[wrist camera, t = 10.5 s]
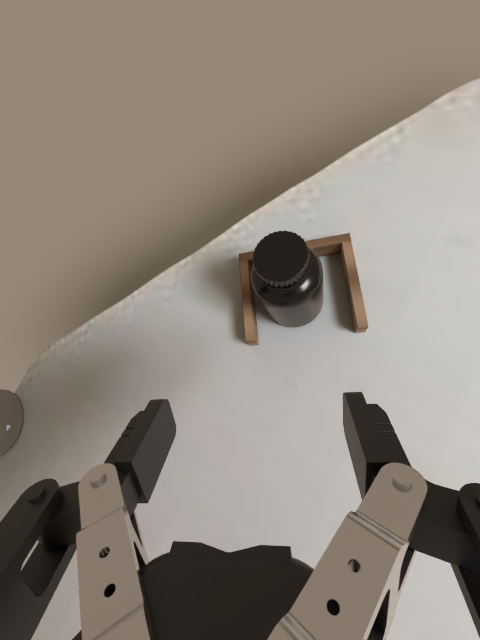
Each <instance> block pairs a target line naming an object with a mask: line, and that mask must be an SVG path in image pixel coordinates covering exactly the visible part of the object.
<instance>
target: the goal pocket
mask: <svg viewBox="0 0 480 640" xmlns="http://www.w3.org/2000/svg"><path fill="white" fill-rule="evenodd" d="M305 243H306V244H307V246H308V247H310V248H311V249H312V250H313V251H314V252H315V253H316V254H317V256H318V257H320V256H326V255H331V254H337V253H340V254H341V259H342V264H343V270H344V275H345V281H346V286H347V291H348V297H349V302H350V307H351V313H352V318H353V324H354V329H355V333H359V332H365V331H366V329H367V328H368V323H367V318H366V313H365V308H364V303H363V298H362V293H361V288H360V283H359V278H358V273H357V268H356V263H355V258H354V253H353V248H352V243H351V238H350V233H347V234H342V235H337V236H331V237H326V238H321V239H316V240H310V241H305ZM253 253H254V251H253V252H248V253H242V254H239V263H240V276H241V289H242V301H243V314H244V327H245V340H246V342H247V343H248V344H249V345H250V346H251V345H259V344H258V333H257V322H256V311H255V300H254V289H253V286H252V282H251V271H252V267H253V259H252V258H253Z"/></svg>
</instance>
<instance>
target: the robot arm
mask: <svg viewBox="0 0 480 640" xmlns="http://www.w3.org/2000/svg"><path fill="white" fill-rule="evenodd" d="M22 420H23V410H22V406H21V403H20V401H19V398H18V397H17V396H16V395H15V394H14V393H12V392H11V391H8V390H0V456H1V455H3V454H4V453H6V452H7V451H8V450H9V449H10V448H11V447H12V445H13V444H14V442H15V441H16V439H17V437H18V435H19V433H20V430H21V426H22ZM343 425H344V432H345V437H346V440H347V444H348V448H349V452H350V456H351V459H352V463H353V467H354V471H355V475H356V478H357V482H358V486H359V490H360V494H361V497H362V502H361V504H360V506H359V507H358V509H357V511H356V512H355V513H354V512H352V511H351V512H349V513H348V514H347V516H346V517H345V519H344V520H343V522H342V524H341V526H340V527H339V529H338V531H337V532H336V534H335V536H334V537H333V539H332V541H331V542H330V544H329V546H328V547H327V549H326V551H325V552H324V554H323V556H322V557H321V559H320V561H319V562H318V564H317V566H316V568H315V569H313V568H311V567H310V566H309V565H307V564H306V563H304V562H302V561H300V560H298V559H295V558H293V557H292V555H291V547H290V546H267V545H259V546H255V547H251V548H247V549H243V550H239V551H235V552H230V553H229V552H224V551H222V550H219V549H216V548H214V547H211V546H208V545H206V544H203V543H199V542H176V541H173V543H172V547H171V550H170V552H169V553H166V554H163V555H161V556H159V557H157V558H155V559H153V560H152V561H150V562H149V560H148V557H147V554H146V551H145V547H144V543H143V539H142V536H141V532H140V528H139V524H138V521H137V517H136V513H135V511H134V510H135V508H136V506H137V503H148V502H149V499H150V497H151V495H152V492H153V490H154V487H155V485H156V482H157V480H158V477H159V475H160V472H161V470H162V468H163V465H164V463H165V460H166V458H167V455H168V453H169V450H170V448H171V446H172V443H173V441H174V438H175V435H176V424H175V420H174V417H173V413H172V410H171V407H170V403H169V401H168V400H167V399H158V400H151V401H150V402H149V403H148V405H147V407H146V408H145V410H144V411H140V412H139V413H138V414H136V415H135V416H134V417H133V418H132V419H131V420H130V422H129V424H128V425H127V427H126V430H124V432H123V433H122V435H121V437H120V438H119V440H118V441H117V443H116V444H115V446H114V448H113V449H112V451H111V453H110V454H109V456H108V457H107V459H106V461H105V462H104V464H100V465H98V466H95V467H94V468H92V469H91V470H89V471H88V472H87V473H86V474H85V475H84V476H83V477H82V479H81V480H80V481H79V482H76V483H72V484H69V485H65V486H62V487H60V486H59V485H58V483H57V481H56V480H54V479H45V480H42V481H39V482H37V483H35V484H34V485H32V486H31V487H29V488H28V489H27V490H26V491H25V492H24V493H23V494H22V495H21V496H20V497H19V499H18V500H17V501H16V503H15V504H14V505H13V507H12V508H11V509H10V510H9V512H8V513H7V514H6V516H5V517H4V518H3V520H2V521H1V522H0V640H31V638H32V636H33V634H34V632H35V630H36V628H37V626H38V624H39V622H40V620H41V618H42V616H43V614H44V612H45V610H46V608H47V606H48V604H49V602H50V600H51V598H52V596H53V594H54V592H55V590H56V588H57V586H58V584H59V582H60V580H61V578H62V576H63V574H64V572H65V570H66V568H67V566H68V565H69V563H70V561H71V559H72V557H73V555H74V553H75V551H76V549H77V561H78V578H79V596H80V613H81V631H80V632H79V633H78V634H77V635H76V636H75V637H74V638H73V639H72V640H386V638H387V635H388V633H389V630H390V627H391V624H392V621H393V618H394V614H395V610H396V606H397V603H398V600H399V597H400V594H401V591H402V589H403V586H404V583H405V581H406V578H407V575H408V573H409V570H410V567H411V565H412V562H413V559H414V557H415V554H416V551H419V552H421V553H424V554H427V555H430V556H432V557H435V558H438V559H441V560H443V561H446V562H449V563H451V566H452V568H453V571H454V573H455V576H456V578H457V581H458V584H459V586H460V589H461V591H462V594H463V596H464V599H465V601H466V604H467V606H468V609H469V611H470V614H471V616H472V619H473V622H474V624H475V627H476V629H477V632H478V634H479V637H480V484H479V483H470V484H466V485H464V486H463V487H462V488H461V489H460V491H457V490H453V489H449V488H446V487H442V486H439V485H435V484H433V483H431V482H429V481H427V480H425V479H424V478H423V476H422V475H421V474H420V473H419V472H418V471H416V470H415V469H414V468H412V467H411V465H410V463H409V461H408V459H407V456H406V454H405V452H404V450H403V448H402V446H401V444H400V441H399V439H398V437H397V435H396V433H395V431H394V429H393V426H392V424H391V422H390V420H389V418H388V416H387V414H386V412H385V411H384V410H383V409H382V408H381V407H379V406H378V405H377V404H367V403H366V401H365V398H364V396H363V394H362V392H348V393H343ZM37 540H38V541H39V543H38V545H37V546H36V548H35V550H34V551H33V553H32V554H31V556H30V558H29V559H28V561H27V563H26V564H25V566H24V567H23V569H22V571H21V567H22V564H23V562H24V560H25V558H26V557H27V555H28V554H29V552H30V550H31V549H32V547H33V546H34V544H35V542H36V541H37Z"/></svg>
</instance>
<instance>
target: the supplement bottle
mask: <svg viewBox="0 0 480 640" xmlns="http://www.w3.org/2000/svg"><path fill="white" fill-rule="evenodd" d="M252 259H253V267H252V271H251V282H252V286H253V289H254V291H255V293H256V295H257V296H258V298H259V299H260V301H261V303H262V304H263V306H264V307H265V309H266V310H267V312H268V313H269V315H270V316H271V317H272V318H273V319H274V320H275V321H276V322H277V323H279V324H281V325H283V326H287V327H300V326H303V325H306V324H308V323H310V322H311V321H312V320H314V319H315V318H316V317H317V315H318V314H319V312H320V310H321V308H322V305H323V271H322V265H321V262H320V259H319V257H318V256H317V254H316V253H315V252H314V251H313V250H312V249H311V248H310V247H308V246H307V244H306V243H305V242H304V239H302V238H301V237H300V236H299V235H297V234H296V233H292V232H287V231H278V232H274V233H271V234H269V235H268V236H265V237H264V239H262V240H261V241H260V243H258V244H257V247H256V248H255V251H254V253H253V258H252Z"/></svg>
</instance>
